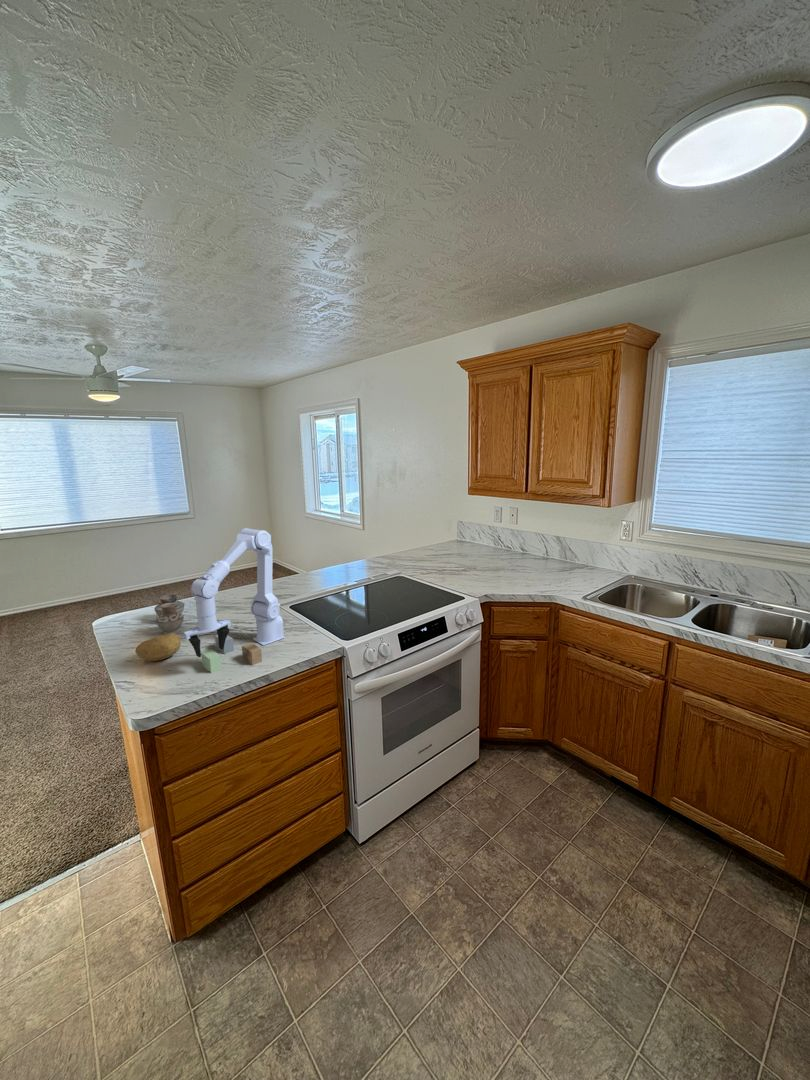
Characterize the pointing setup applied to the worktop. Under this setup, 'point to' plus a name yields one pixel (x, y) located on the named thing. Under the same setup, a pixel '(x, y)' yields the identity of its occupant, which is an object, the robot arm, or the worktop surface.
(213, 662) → the green brick
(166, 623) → the pottery
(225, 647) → the slate brick
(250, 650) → the walnut brick
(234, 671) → the worktop surface
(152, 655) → the potato
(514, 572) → the worktop surface
